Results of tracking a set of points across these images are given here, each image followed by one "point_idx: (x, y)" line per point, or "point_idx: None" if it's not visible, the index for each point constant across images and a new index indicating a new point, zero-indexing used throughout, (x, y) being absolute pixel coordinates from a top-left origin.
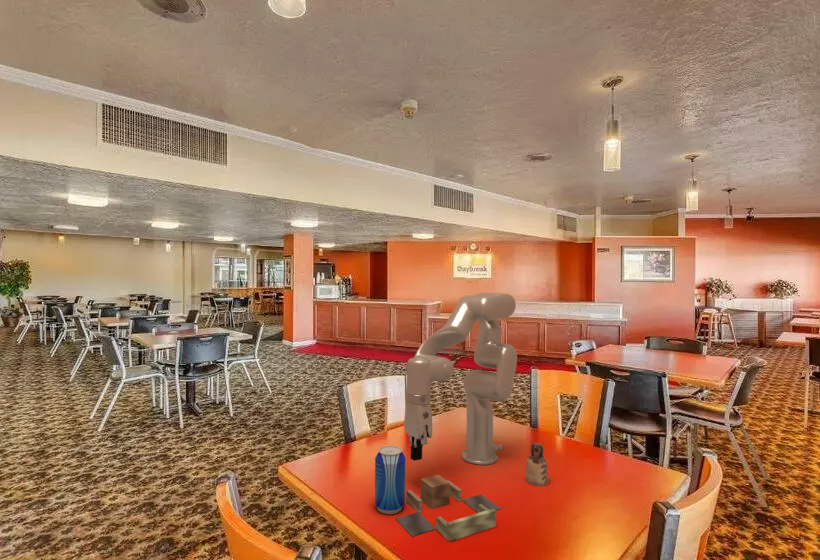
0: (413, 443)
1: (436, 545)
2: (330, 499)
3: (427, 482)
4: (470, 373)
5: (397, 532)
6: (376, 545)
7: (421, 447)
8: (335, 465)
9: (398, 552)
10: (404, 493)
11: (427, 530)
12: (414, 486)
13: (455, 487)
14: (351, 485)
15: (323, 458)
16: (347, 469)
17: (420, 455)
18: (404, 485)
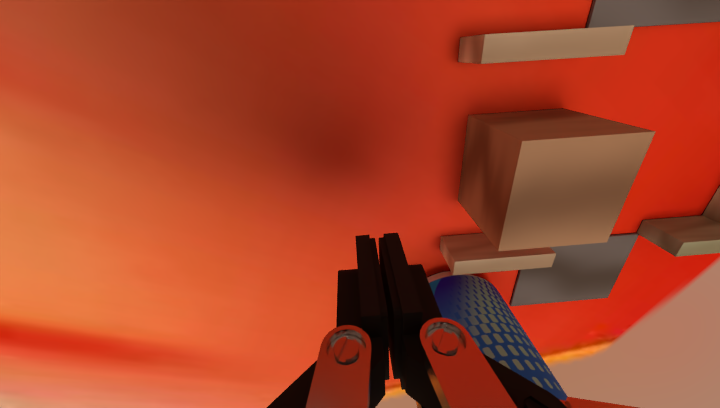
0: (374, 399)
1: (683, 261)
2: None
3: (551, 238)
4: None
5: (562, 316)
6: (566, 358)
7: (417, 307)
8: (80, 364)
9: (621, 333)
10: (511, 314)
11: (623, 258)
12: (346, 178)
13: (586, 46)
14: (259, 351)
15: (7, 383)
16: (122, 341)
17: (424, 275)
18: (530, 343)
